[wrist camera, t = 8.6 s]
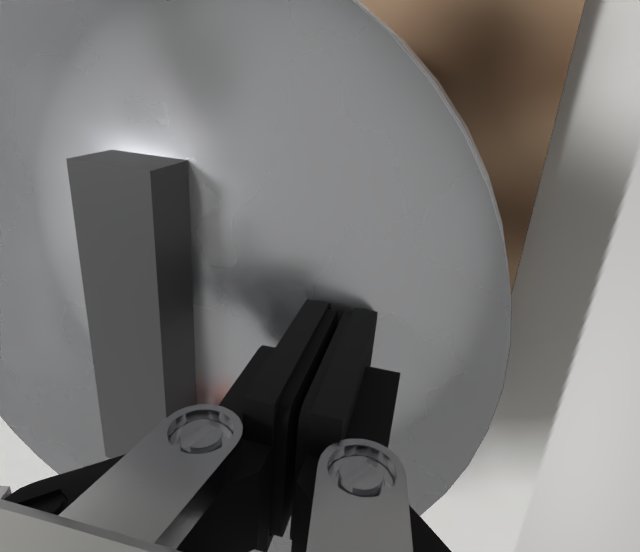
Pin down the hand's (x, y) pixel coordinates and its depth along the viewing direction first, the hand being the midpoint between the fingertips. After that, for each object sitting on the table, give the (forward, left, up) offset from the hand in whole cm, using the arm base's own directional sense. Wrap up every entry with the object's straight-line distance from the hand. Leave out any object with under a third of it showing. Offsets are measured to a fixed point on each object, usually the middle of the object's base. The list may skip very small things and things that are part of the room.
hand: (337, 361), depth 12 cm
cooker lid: (0, -5, -3) cm, 6 cm away
